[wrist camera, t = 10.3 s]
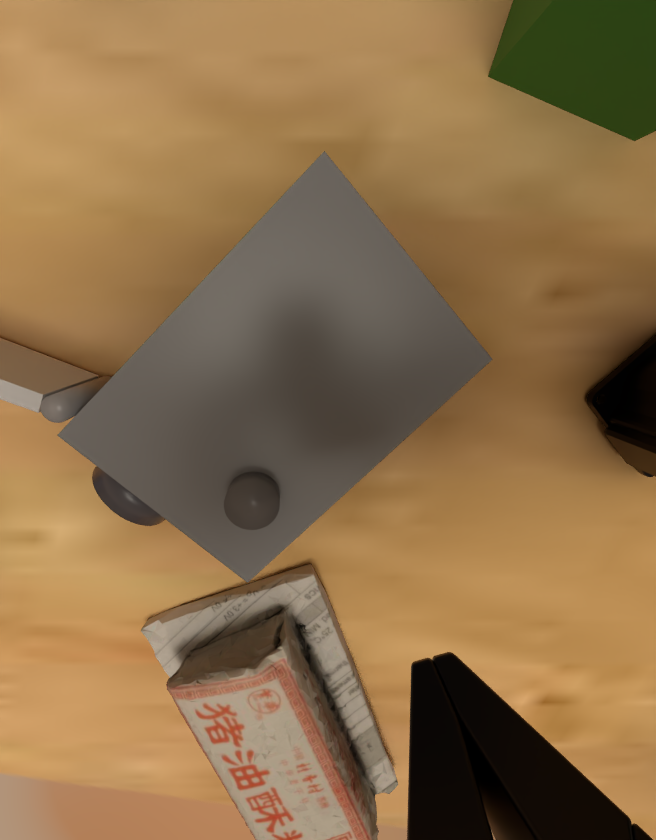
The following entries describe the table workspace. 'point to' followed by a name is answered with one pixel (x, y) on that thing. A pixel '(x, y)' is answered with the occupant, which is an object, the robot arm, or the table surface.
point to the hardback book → (584, 59)
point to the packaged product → (277, 707)
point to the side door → (45, 382)
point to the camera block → (277, 379)
